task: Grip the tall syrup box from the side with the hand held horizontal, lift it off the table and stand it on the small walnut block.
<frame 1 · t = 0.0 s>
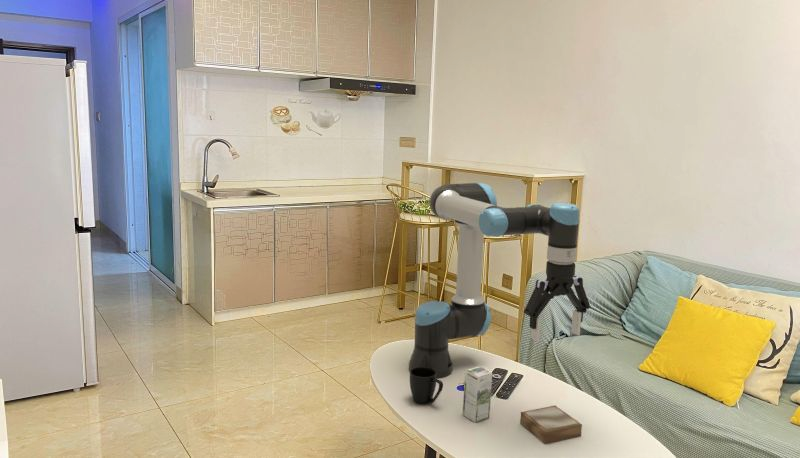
hand: (555, 336, 166), 28 cm above the table, tool pointing down, fingers open, 13 cm apart
syrup box: (476, 417, 178), on the table
walnut stand: (550, 429, 172), on the table
mug: (426, 403, 186), on the table
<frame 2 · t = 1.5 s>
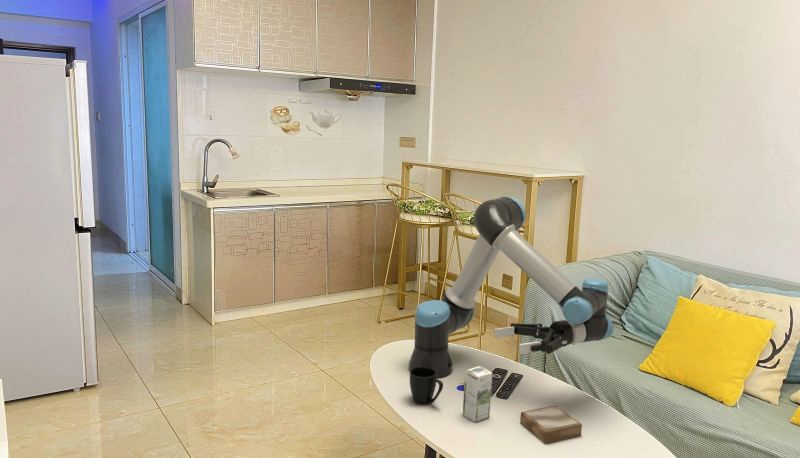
hand: (506, 341, 178), 22 cm above the table, tool horizontal, fingers open, 13 cm apart
nothing on the table moved.
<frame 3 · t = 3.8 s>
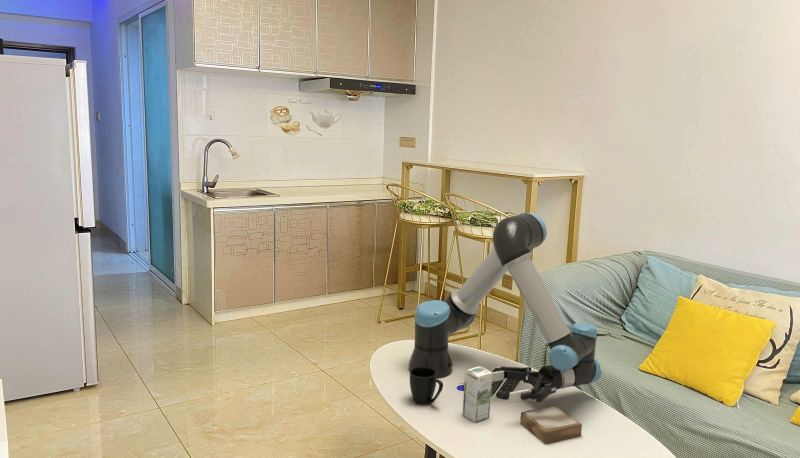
hand: (497, 387, 178), 8 cm above the table, tool horizontal, fingers open, 13 cm apart
nothing on the table moved.
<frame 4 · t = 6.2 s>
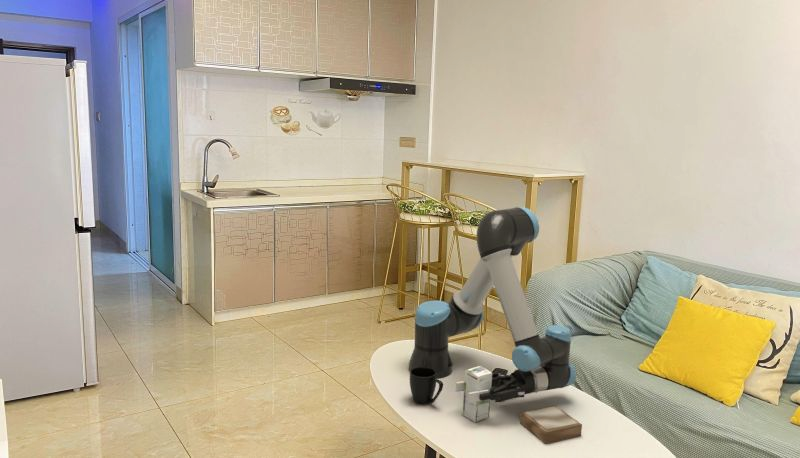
hand: (462, 392, 175), 9 cm above the table, tool horizontal, fingers closed on syrup box, 6 cm apart
syrup box: (476, 417, 178), on the table, touching gripper
everything else where it was.
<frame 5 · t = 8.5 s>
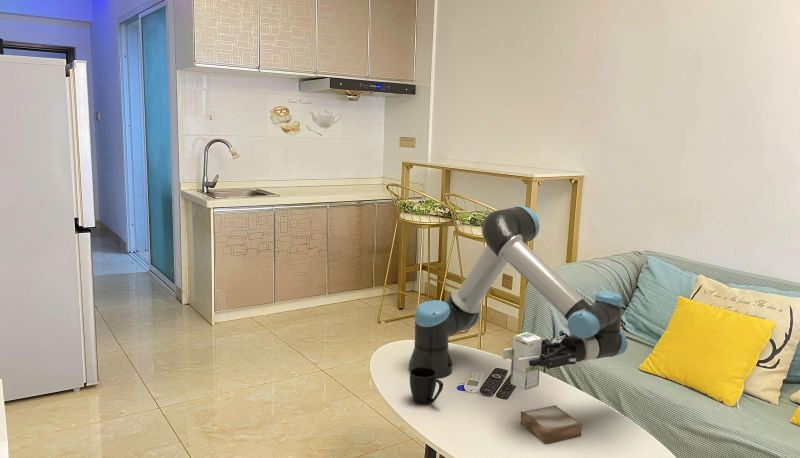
hand: (510, 358, 167), 21 cm above the table, tool horizontal, fingers closed on syrup box, 6 cm apart
syrup box: (524, 385, 171), point 13 cm above the table, touching gripper
everything else where it was.
when the fingers open (13 cm above the table, at t = 10.7 s): syrup box stays where it is, resting on walnut stand.
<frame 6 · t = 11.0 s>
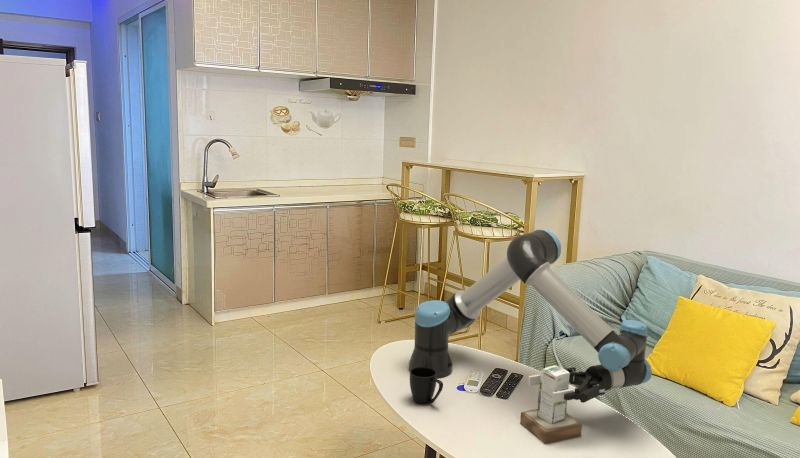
hand: (540, 389, 168), 13 cm above the table, tool horizontal, fingers open, 10 cm apart
syrup box: (551, 418, 171), point 4 cm above the table, touching walnut stand
everything else where it was.
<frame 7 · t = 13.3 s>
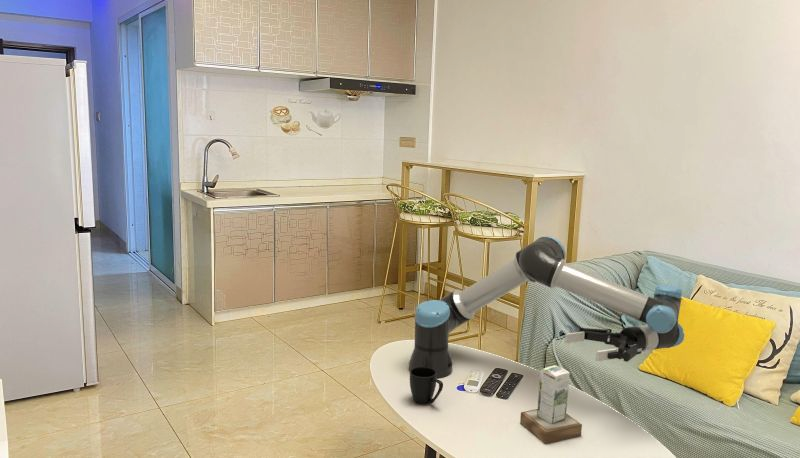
hand: (580, 346, 173), 23 cm above the table, tool horizontal, fingers open, 13 cm apart
nothing on the table moved.
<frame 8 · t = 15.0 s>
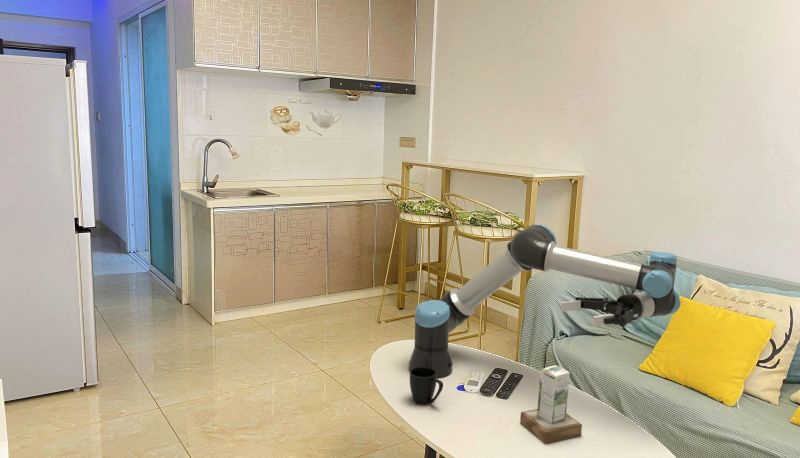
hand: (577, 313, 173), 32 cm above the table, tool horizontal, fingers open, 13 cm apart
nothing on the table moved.
at the end: syrup box inside the target area on the walnut stand (0.2 cm from its centre), point 3.5 cm above the walnut stand's base; syrup box tilted 0°; the gripper is holding nothing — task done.
